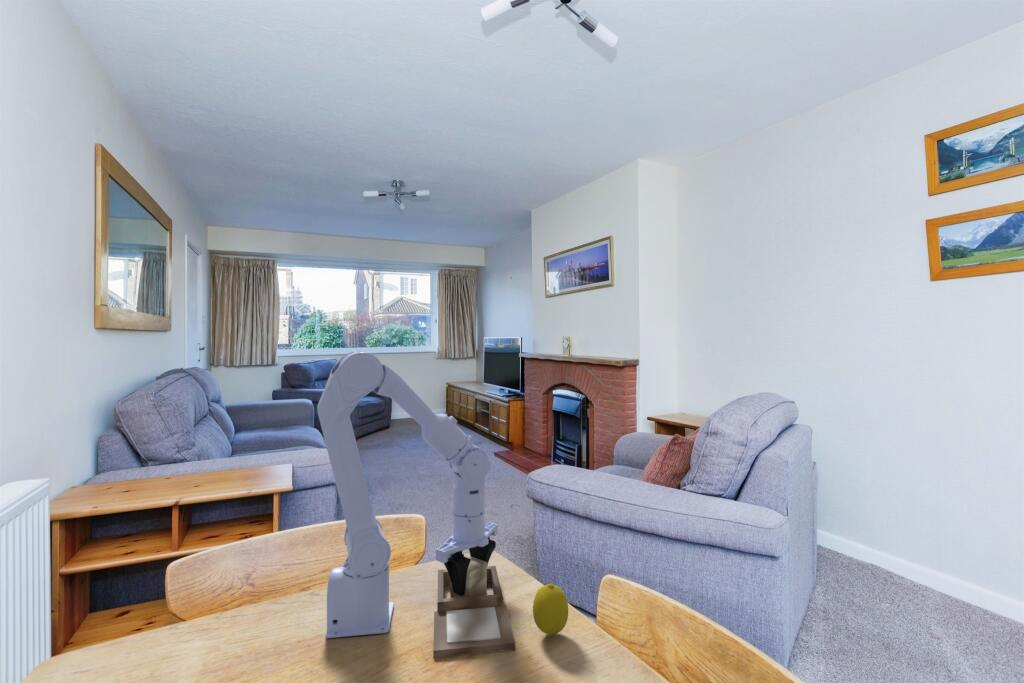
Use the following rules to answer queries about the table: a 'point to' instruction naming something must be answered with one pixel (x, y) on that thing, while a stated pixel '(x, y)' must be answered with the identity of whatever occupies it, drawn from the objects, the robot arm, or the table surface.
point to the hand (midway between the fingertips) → (468, 587)
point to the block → (474, 579)
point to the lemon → (550, 609)
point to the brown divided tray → (471, 621)
